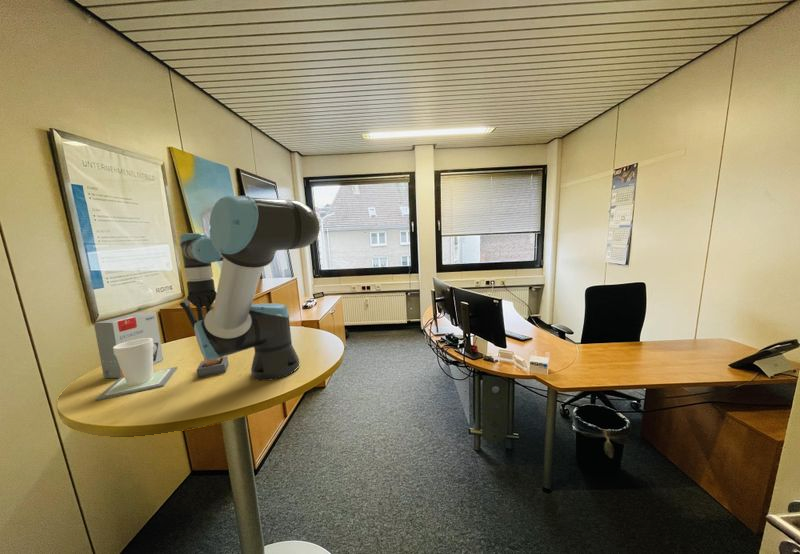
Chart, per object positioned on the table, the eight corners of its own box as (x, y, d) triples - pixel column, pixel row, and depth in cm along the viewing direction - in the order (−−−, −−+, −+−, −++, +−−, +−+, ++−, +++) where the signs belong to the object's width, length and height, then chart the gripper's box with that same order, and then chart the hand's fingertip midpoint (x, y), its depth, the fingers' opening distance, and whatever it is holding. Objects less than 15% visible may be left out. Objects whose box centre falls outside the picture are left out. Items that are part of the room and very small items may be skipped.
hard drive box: (120, 378, 97) (109, 323, 94) (102, 378, 98) (91, 323, 96) (164, 359, 112) (156, 311, 110) (148, 359, 113) (140, 311, 111)
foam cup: (135, 389, 87) (127, 349, 86) (112, 387, 89) (104, 348, 88) (166, 374, 96) (160, 338, 95) (145, 373, 98) (138, 337, 97)
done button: (219, 364, 97) (218, 356, 97) (203, 368, 96) (202, 359, 95) (221, 360, 102) (220, 352, 101) (206, 363, 100) (205, 355, 99)
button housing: (225, 372, 97) (224, 364, 97) (197, 378, 94) (196, 369, 93) (228, 363, 104) (227, 356, 104) (202, 369, 101) (201, 361, 100)
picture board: (163, 386, 89) (163, 383, 89) (95, 400, 83) (95, 398, 83) (177, 368, 103) (176, 366, 103) (119, 379, 96) (119, 377, 96)
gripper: (224, 276, 101) (232, 339, 104) (179, 280, 95) (190, 346, 99) (220, 278, 94) (230, 345, 97) (172, 282, 89) (184, 354, 92)
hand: (210, 346), depth 98 cm, fingers closed
